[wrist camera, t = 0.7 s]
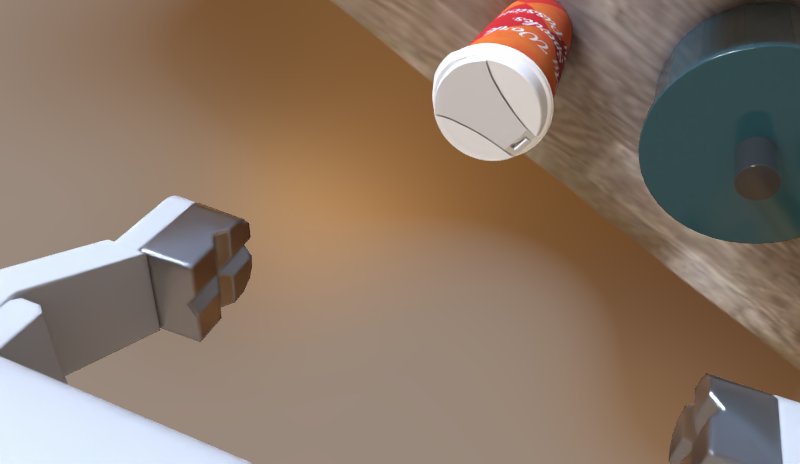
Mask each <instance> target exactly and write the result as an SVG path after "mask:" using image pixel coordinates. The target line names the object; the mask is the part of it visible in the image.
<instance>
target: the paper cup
mask: <svg viewBox="0 0 800 464" xmlns="http://www.w3.org/2000/svg"><path fill="white" fill-rule="evenodd" d="M571 39H572V26H571V21H570V18H569V16H568V14H567V13H566V11H565V10H564V8H563V7H562V6H561V5H560V4H558V3H557V2H556V1H554V0H517V1H515V2H514V3H512V4H511V5H510V6H509V7H507V8H506V9H505V10H504V11H503V12H502V13H501V14H500V15H499V16H498V17H497V18H496V19H495V20H494V21H493V22H491V23H490V24H489V25H488V26H487V27H486V28H485V29H484V30H483V31H482V32H481V33H480V34H479V35H478V36H477V37H476V38H475V39H474V40H473V41H472V42H471V43H470V44H469V45H468V46H467V47H465V48H463V49H461V50H458V51H455V52H453V53H450V54H449V55H448V56H447V57H446V58H445V59H444V60H443V61H442V63H441V64H440V65H439V67H438V68H437V70H436V72H435V74H434V85H433V93H432V94H433V106H434V110H435V113H434V114H435V118H436V121H437V124H438V126H439V128H440V130H441V132H442V133H443V135H444V136H445V137H446V139H447V140H448V141H449V142H450V143H451V144H452V145H453V146H454V147H455V148H457V149H458V150H459V151H461V152H463V153H464V154H466V155H469V156H471V157H473V158H477V159H481V160H488V161H499V160H506V159H509V158H512V157H514V156H517V155H520V154H522V153H524V152H526V151H528V150H530V149H531V148H533V147H534V146H535V145H537V144H538V143H539V142H540V140H541V139H542V138H543V137H544V135H545V134H546V132H547V131H548V128H549V126H550V124H551V121H552V117H553V109H554V103H553V98H554V95H555V92H556V89H557V86H558V83H559V80H560V77H561V74H562V71H563V68H564V64H565V61H566V58H567V55H568V51H569V48H570V44H571Z"/></svg>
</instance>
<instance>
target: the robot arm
mask: <svg viewBox="0 0 800 464" xmlns="http://www.w3.org/2000/svg"><path fill="white" fill-rule="evenodd" d="M249 238H250V229H249V223H248V222H247V221H245V220H244V219H242V218H239V217H236V216H233V215H230V214H228V213H225V212H222V211H219V210H217V209H214V208H211V207H208V206H206V205H203V204H200V203H195V202H193V201H190V200H187V199H184V198H182V197H179V196H172V197H168V198H167V199H165V200H164V201H163V202H162V203H161V204H159V206H157V207H156V208H155V209H153V210H152V211H151V212H150V213H149V214H147V215H146V216H145V217H144V218H143V219H141V220H140V221H139V222H138V223H137V224H135V225H134V226H133V227H132V228H131V229H129V230H128V231H127V232H126V233H125V234H123V235H122V236H121V237H120V238H119V239H118V240H116V241H115V242H113V241H110V240H105V241H101V242H97V243H94V244H90V245H87V246H83V247H79V248H76V249H72V250H69V251H65V252H61V253H58V254H54V255H51V256H47V257H44V258H40V259H36V260H33V261H29V262H25V263H22V264H18V265H15V266H11V267H7V268H4V269H0V464H253V463H250V462H248V461H246V460H244V459H241V458H239V457H236V456H234V455H232V454H229V453H227V452H225V451H222V450H220V449H217V448H215V447H213V446H211V445H208V444H206V443H203V442H201V441H198V440H197V439H194V438H192V437H189V436H187V435H185V434H182V433H180V432H178V431H175V430H173V429H171V428H168V427H166V426H164V425H161V424H159V423H157V422H154V421H152V420H150V419H147V418H145V417H142V416H140V415H137V414H135V413H133V412H131V411H128V410H126V409H124V408H121V407H119V406H117V405H114V404H112V403H110V402H107V401H105V400H102V399H100V398H98V397H95V396H93V395H91V394H88V393H86V392H84V391H81V390H79V389H77V388H74V387H72V386H69V385H68V384H67V381H66V378H65V376H66V375H68V374H70V373H72V372H74V371H76V370H78V369H81V368H82V367H85V366H87V365H88V364H91V363H93V362H95V361H97V360H99V359H101V358H103V357H105V356H107V355H110V354H112V353H114V352H116V351H118V350H120V349H122V348H124V347H126V346H128V345H130V344H133V343H135V342H137V341H139V340H141V339H143V338H145V337H147V336H149V335H151V334H153V333H155V332H157V331H160V328H163V329H165V330H168V331H171V332H174V333H176V334H179V335H182V336H185V337H188V338H191V339H193V340H196V341H199V342H201V341H202V340H203V338H205V336H206V335H207V334H208V333H209V332H210V331H211V329H212V328H213V327H214V326H215V325H216V324H217V323H218V321H219V320H220V319H221V307H223V306H226V305H229V304H231V303H234V302H235V301H236V300H237V298H239V296H240V295H241V294H242V293H243V292H244V289H245V287H246V285H247V282H248V281H249V279H250V273H251V269H252V256H251V254H250V253H249V251H248V250H247V249H246V247H245V246H244V244H245V243H246V242H247V241H248V240H249ZM669 462H670V464H800V403H798V402H795V401H792V400H789V399H786V398H783V397H779V396H776V395H772V394H769V393H766V392H763V391H760V390H757V389H754V388H751V387H748V386H745V385H741V384H738V383H735V382H732V381H729V380H726V379H723V378H720V377H717V376H714V375H711V374H707V373H706V374H705V375H704V376H703V377H702V378H701V380H700V381H699V383H698V385H697V386H696V388H695V401H694V403H692V404H689V405H686V406H685V407H684V409H683V411H682V412H681V415H680V416H679V418H678V421H677V423H676V426H675V429H674V432H673V435H672V440H671V445H670V452H669Z"/></svg>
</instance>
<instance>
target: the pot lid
mask: <svg viewBox="0 0 800 464" xmlns="http://www.w3.org/2000/svg"><path fill="white" fill-rule="evenodd" d="M639 163H640V168H641V173H642V176H643V179H644V181H645V184H646V186H647V188H648V189H649V191H650V193H651V195H652V196H653V197H654V199H655V200H656V202H657V203H658V204H659V205H660V206H661V207H662V208H663V209H664V210H665V211H666V212H667V213H668V214H669V215H670V216H672V217H673V218H674V219H675V220H677V221H678V222H680V223H681V224H683V225H685V226H686V227H688V228H690V229H692V230H694V231H696V232H698V233H701V234H704V235H707V236H709V237H712V238H716V239H720V240H725V241H730V242H737V243H752V244H760V243H774V242H781V241H787V240H791V239H795V238H799V237H800V44H795V43H785V42H766V43H754V44H748V45H743V46H738V47H734V48H731V49H727V50H724V51H721V52H718V53H716V54H714V55H711V56H709V57H707V58H704V59H703V60H701V61H699V62H697V63H695V64H694V65H692V66H690V67H689V68H687V69H686V70H685V71H683V72H682V73H681V74H679V75H678V76H677V77H676V78H675V79H673V80H672V81H671V82H670V83H669V84H668V85H667V86H666V87H665V88H664V90H663V91H662V92H661V93H660V94H659V96H658V97H657V98H656V100H655V101H654V103H653V104H652V106H651V108H650V109H649V112H648V114H647V116H646V118H645V121H644V124H643V127H642V131H641V135H640V142H639Z"/></svg>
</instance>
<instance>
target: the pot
mask: <svg viewBox="0 0 800 464" xmlns="http://www.w3.org/2000/svg"><path fill="white" fill-rule="evenodd" d="M766 42H785V43H795V44H800V6H796V5H792V4H785V3H756V4H749V5H744V6H739V7H736V8H733V9H730V10H727V11H724V12H722V13H720V14H717V15H715V16H713V17H711V18H709V19H708V20H706V21H704V22H703V23H701V24H700V25H698V26H697V27H696V28H694V29H693V30H692V31H691V32H689V33H688V34H687V35H686V36H685V37H684V38H683V39H682V40H681V41H680V43H679V44H678V45H677V46H676V47H675V48H674V50H673V52H672V53H671V55H670V56H669V58H668V60H667V62H666V64H665V66H664V68H663V71H662V73H661V75H660V76H659V79H658V84H657V89H656V94H655V99H654V101H655V100H656V98H657V97H658V96H659V94H660V93H661V92H662V91H663V90H664V88H665V87H666V86H667V85H668V84H669V83H670V82H671V81H672V80H673V79H675V78H676V77H677V76H678V75H679V74H681V73H682V72H683V71H685V70H686V69H687V68H689V67H690V66H692V65H694V64H695V63H697V62H699V61H701V60H703V59H704V58H707V57H709V56H711V55H714V54H716V53H718V52H721V51H724V50H727V49H731V48H734V47H738V46H743V45H748V44H754V43H766Z"/></svg>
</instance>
